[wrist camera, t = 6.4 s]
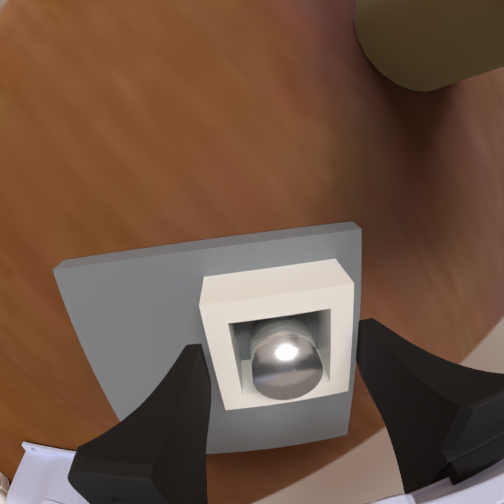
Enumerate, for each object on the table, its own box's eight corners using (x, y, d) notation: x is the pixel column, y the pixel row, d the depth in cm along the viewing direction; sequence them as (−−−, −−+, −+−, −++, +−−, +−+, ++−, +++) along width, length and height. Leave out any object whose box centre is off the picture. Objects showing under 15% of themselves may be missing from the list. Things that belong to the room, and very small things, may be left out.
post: (251, 349, 15) (256, 404, 12) (244, 303, 14) (248, 354, 11) (305, 341, 15) (322, 394, 12) (303, 294, 14) (323, 343, 11)
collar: (225, 375, 16) (225, 410, 13) (203, 276, 14) (199, 305, 11) (335, 359, 16) (348, 391, 13) (335, 258, 14) (353, 283, 11)
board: (143, 441, 19) (140, 453, 18) (63, 260, 14) (52, 269, 13) (342, 422, 19) (346, 434, 18) (352, 221, 14) (361, 228, 13)
